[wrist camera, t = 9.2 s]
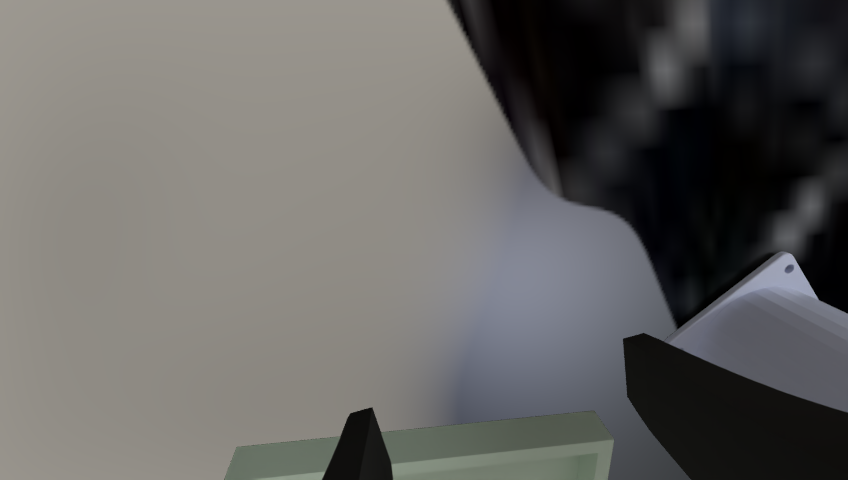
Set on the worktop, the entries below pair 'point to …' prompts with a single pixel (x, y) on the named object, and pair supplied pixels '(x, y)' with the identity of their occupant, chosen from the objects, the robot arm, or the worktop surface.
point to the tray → (455, 452)
